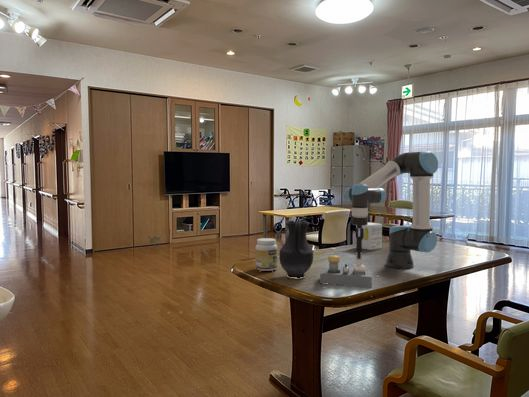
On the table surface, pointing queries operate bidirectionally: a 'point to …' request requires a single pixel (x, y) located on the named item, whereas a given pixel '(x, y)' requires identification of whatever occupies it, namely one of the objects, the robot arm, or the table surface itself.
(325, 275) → the mount
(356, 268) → the knob
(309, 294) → the table surface
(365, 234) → the white canister
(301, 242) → the pitcher
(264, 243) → the supplement tub
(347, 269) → the potentiometer
